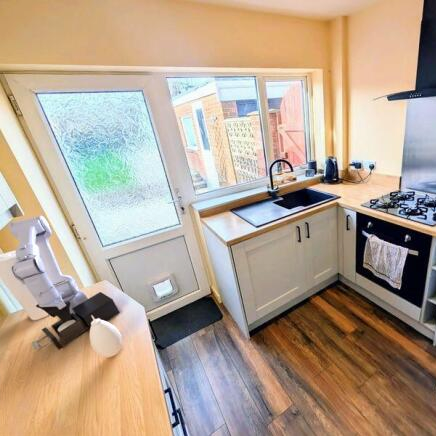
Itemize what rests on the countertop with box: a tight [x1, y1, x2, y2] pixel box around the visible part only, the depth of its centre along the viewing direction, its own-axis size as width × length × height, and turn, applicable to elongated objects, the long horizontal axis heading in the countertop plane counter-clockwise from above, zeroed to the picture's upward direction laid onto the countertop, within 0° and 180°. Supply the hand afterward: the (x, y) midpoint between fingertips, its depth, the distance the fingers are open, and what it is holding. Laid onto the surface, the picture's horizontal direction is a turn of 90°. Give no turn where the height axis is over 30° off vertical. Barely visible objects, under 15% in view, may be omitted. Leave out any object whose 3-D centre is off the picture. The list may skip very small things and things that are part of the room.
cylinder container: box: [0, 249, 50, 321], centre depth 103 cm, size 9×9×30 cm
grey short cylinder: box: [58, 320, 76, 332], centre depth 94 cm, size 5×5×3 cm
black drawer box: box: [72, 291, 120, 331], centre depth 101 cm, size 11×11×8 cm
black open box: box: [30, 313, 88, 352], centre depth 92 cm, size 14×9×6 cm
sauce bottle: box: [89, 316, 123, 358], centre depth 82 cm, size 8×8×18 cm
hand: (62, 317), depth 92 cm, fingers open, 7 cm apart
